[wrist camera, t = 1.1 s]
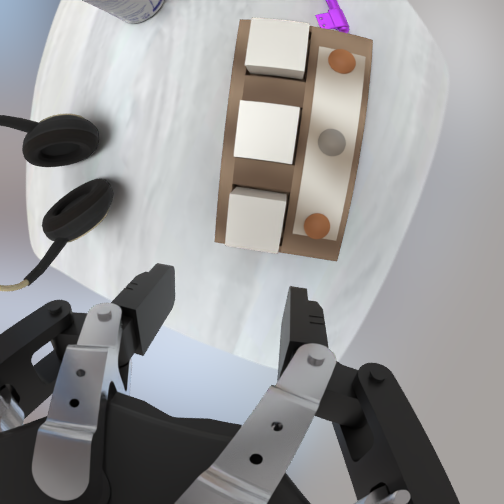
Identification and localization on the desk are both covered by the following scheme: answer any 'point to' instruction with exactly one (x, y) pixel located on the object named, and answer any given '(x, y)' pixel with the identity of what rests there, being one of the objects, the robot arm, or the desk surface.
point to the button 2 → (277, 47)
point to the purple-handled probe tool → (333, 18)
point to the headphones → (75, 202)
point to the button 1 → (255, 219)
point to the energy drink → (129, 8)
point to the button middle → (266, 131)
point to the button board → (304, 139)
